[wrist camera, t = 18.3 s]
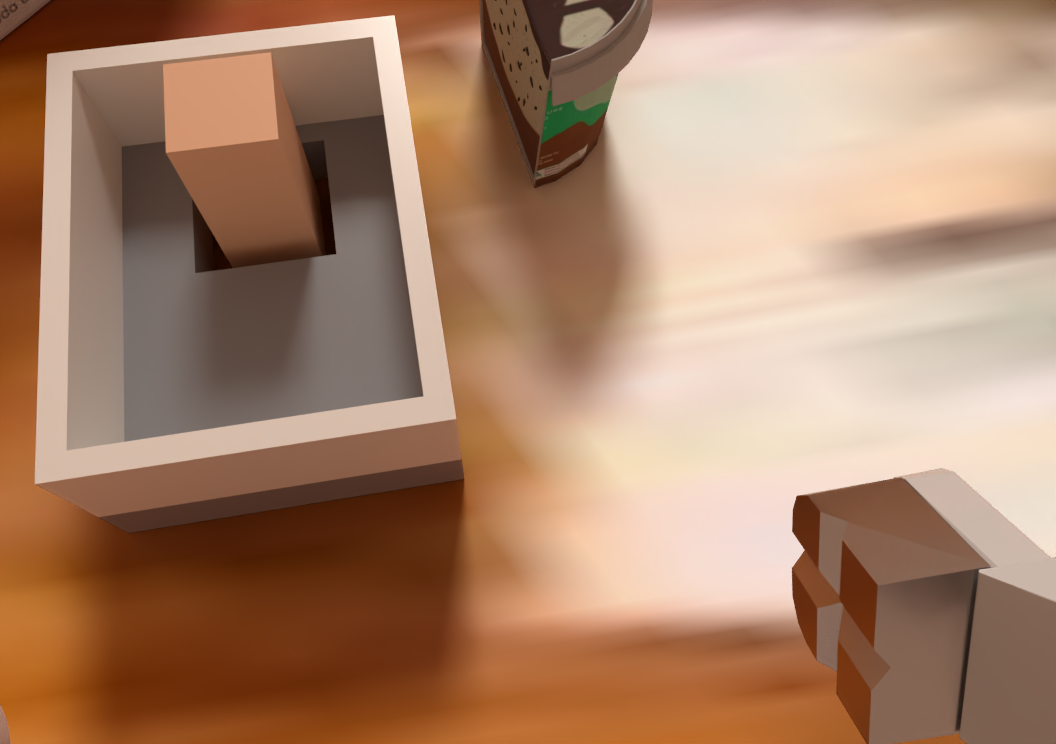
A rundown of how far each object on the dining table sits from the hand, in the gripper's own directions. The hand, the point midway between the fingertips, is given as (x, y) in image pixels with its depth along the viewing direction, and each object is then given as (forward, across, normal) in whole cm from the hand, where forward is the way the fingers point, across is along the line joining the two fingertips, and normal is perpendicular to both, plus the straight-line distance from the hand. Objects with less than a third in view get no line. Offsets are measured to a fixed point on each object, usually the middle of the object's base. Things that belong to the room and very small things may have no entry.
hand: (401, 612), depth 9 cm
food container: (+40, -8, 0) cm, 41 cm away
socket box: (+32, +7, +7) cm, 34 cm away
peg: (+35, +7, +4) cm, 36 cm away
